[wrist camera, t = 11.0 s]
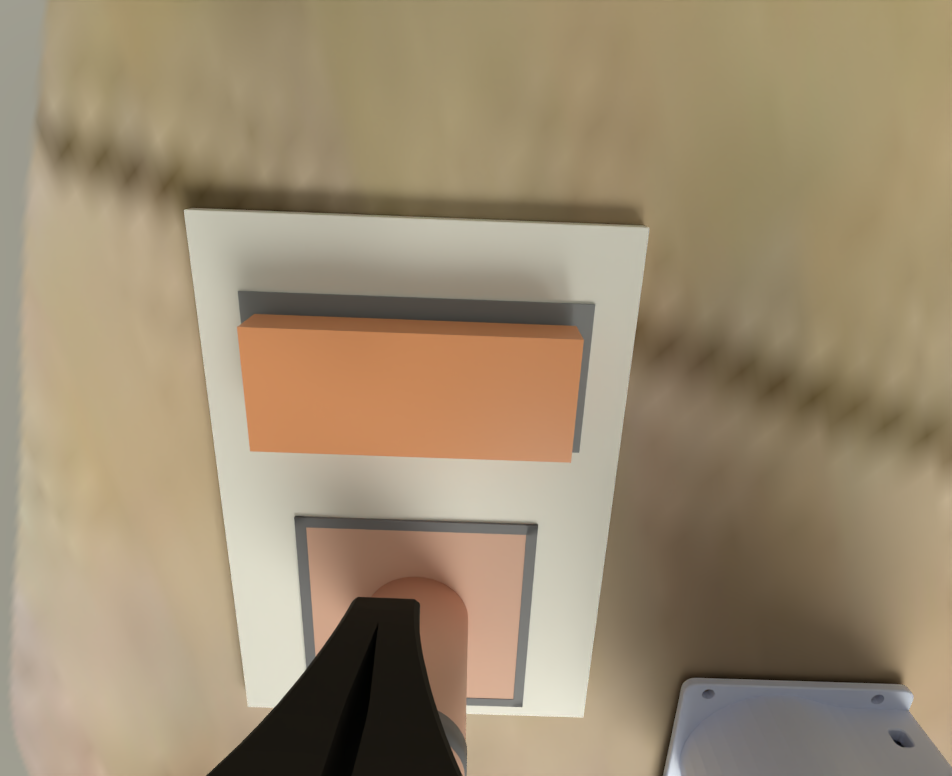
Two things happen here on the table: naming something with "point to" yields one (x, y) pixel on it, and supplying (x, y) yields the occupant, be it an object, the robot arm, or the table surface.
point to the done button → (410, 387)
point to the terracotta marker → (441, 651)
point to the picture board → (417, 478)
